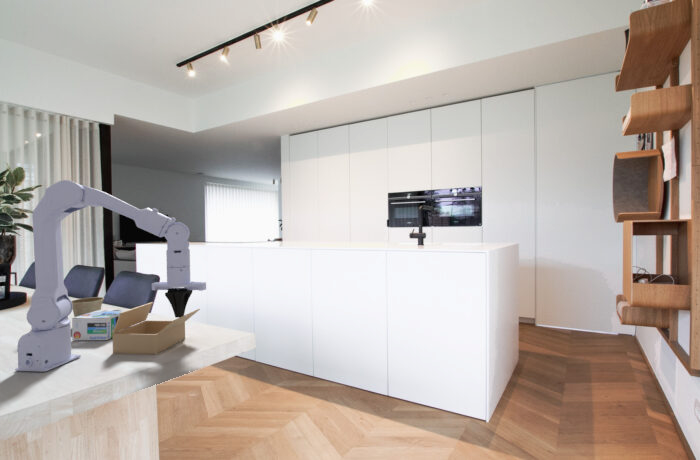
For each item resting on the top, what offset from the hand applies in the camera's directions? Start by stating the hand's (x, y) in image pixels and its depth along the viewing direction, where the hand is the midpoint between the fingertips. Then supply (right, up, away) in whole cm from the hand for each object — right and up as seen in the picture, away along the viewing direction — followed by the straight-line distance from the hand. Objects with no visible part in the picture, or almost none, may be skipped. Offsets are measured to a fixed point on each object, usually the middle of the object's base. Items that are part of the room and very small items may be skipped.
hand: (179, 316), depth 97 cm
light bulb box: (-28, -5, +16) cm, 33 cm away
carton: (-8, -8, +1) cm, 12 cm away
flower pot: (-41, -9, +22) cm, 48 cm away
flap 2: (0, -1, 0) cm, 1 cm away
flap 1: (-13, 0, +1) cm, 13 cm away
